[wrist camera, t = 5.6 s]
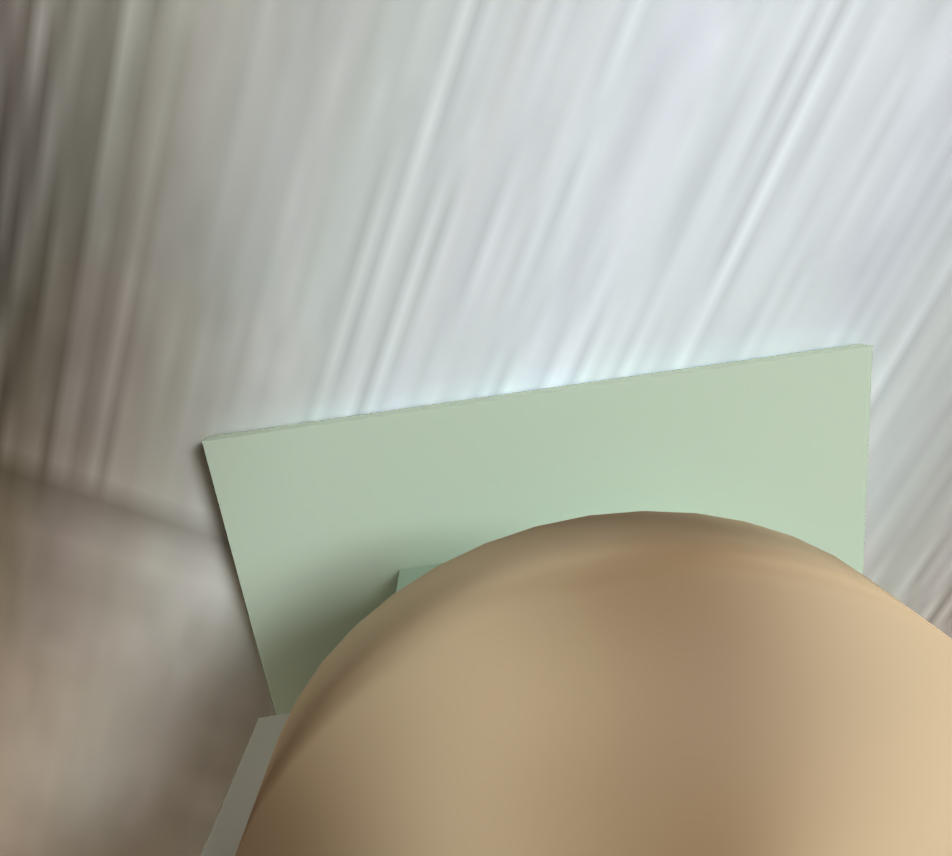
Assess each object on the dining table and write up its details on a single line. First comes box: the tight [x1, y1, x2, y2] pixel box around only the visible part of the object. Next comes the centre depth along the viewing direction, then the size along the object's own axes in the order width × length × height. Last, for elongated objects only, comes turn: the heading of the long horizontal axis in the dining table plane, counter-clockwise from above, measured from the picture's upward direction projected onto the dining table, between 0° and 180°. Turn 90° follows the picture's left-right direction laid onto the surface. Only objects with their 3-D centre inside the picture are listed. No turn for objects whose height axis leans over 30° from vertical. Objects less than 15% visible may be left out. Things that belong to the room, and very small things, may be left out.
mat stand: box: [202, 344, 873, 715], centre depth 12 cm, size 14×14×4 cm
